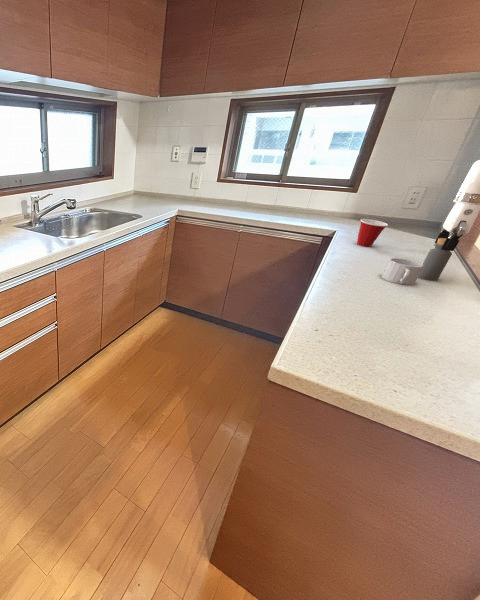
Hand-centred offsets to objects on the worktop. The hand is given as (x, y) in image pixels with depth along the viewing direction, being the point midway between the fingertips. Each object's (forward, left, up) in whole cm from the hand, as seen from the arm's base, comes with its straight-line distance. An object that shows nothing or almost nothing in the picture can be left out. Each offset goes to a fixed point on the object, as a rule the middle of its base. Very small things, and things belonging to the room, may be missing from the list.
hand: (443, 246), depth 118 cm
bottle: (0, 0, -13) cm, 13 cm away
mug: (+10, +12, -12) cm, 20 cm away
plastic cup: (+17, -41, -13) cm, 46 cm away
